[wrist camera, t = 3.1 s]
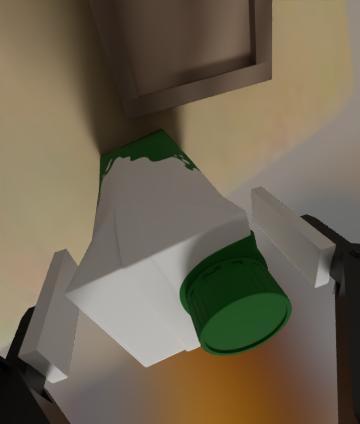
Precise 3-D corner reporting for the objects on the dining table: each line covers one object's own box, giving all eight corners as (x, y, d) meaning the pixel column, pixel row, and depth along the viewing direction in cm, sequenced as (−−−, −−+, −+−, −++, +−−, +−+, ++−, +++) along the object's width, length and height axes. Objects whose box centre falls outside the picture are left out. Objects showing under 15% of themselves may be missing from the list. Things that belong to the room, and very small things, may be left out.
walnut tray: (126, 116, 22) (127, 120, 20) (51, -110, 15) (41, -140, 13) (257, 78, 24) (271, 79, 22) (252, -149, 16) (272, -183, 14)
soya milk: (193, 186, 28) (305, 349, 12) (126, 217, 28) (142, 424, 12) (166, 116, 23) (293, 222, 7) (85, 152, 23) (11, 351, 7)
